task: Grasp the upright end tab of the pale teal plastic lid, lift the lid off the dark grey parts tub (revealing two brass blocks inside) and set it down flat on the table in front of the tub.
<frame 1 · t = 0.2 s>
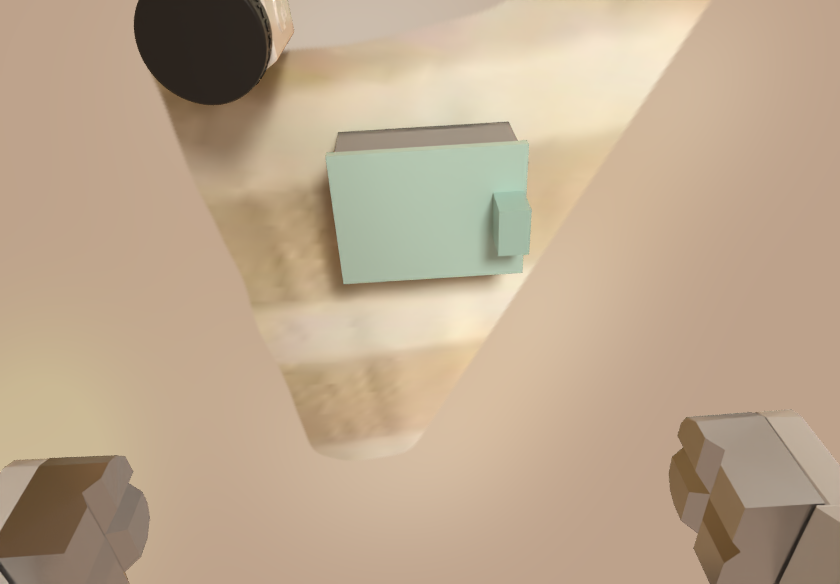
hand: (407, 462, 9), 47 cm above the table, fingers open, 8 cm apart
lid: (429, 214, 53), point 6 cm above the table, touching tub
tub: (426, 184, 58), on the table
jar: (239, 6, 49), on the table
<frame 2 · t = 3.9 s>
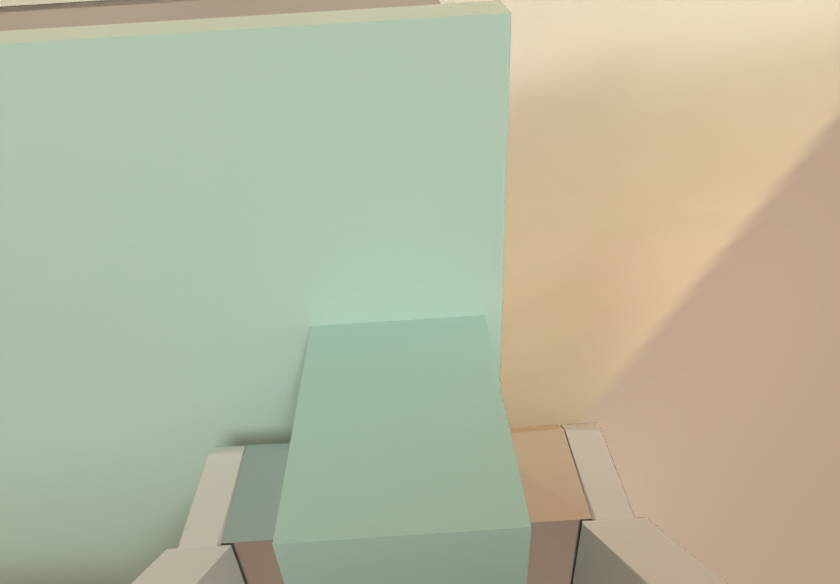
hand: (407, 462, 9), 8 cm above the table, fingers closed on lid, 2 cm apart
lid: (26, 411, 11), point 6 cm above the table, touching gripper, tub
tub: (142, 241, 16), on the table
when the fingers open (3 cm above the table, at t = 9.8 s): lid drops 2 cm, on the table.
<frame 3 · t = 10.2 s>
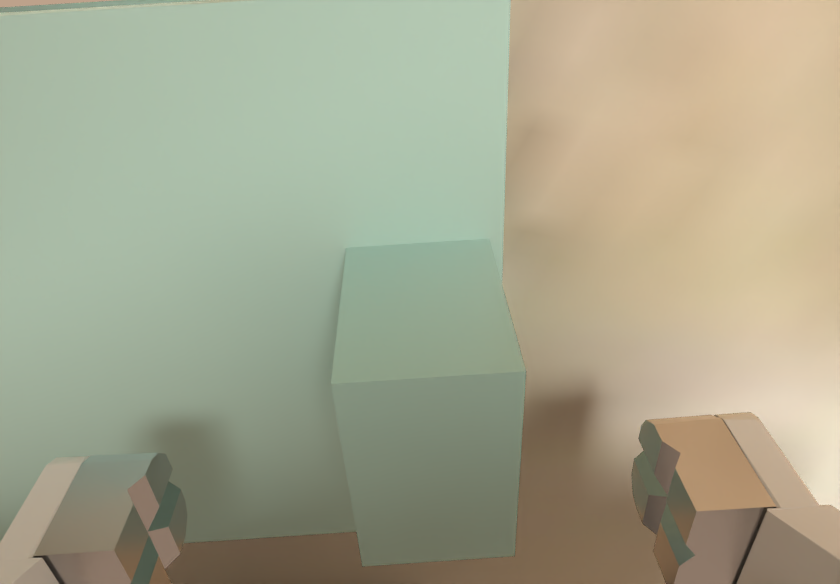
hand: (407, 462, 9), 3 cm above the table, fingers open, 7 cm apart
lid: (100, 330, 13), on the table
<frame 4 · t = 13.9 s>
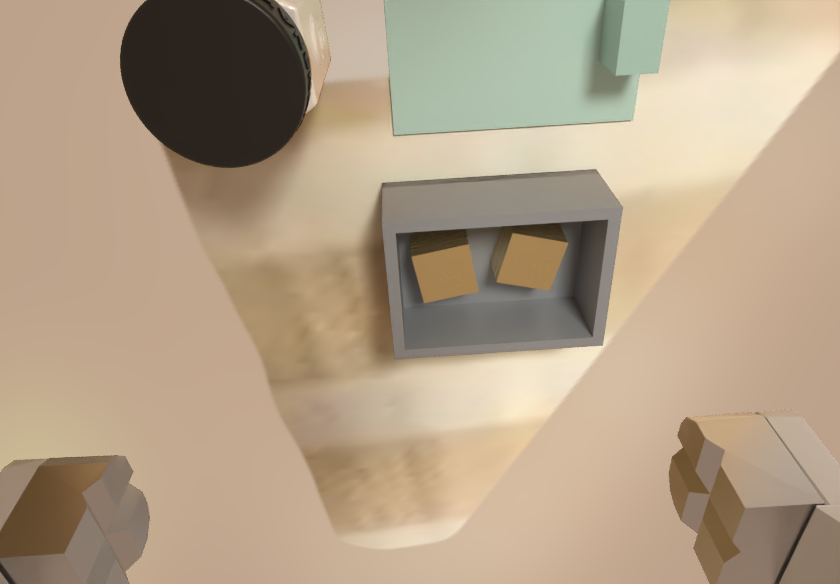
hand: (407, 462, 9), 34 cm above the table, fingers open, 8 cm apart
part b: (523, 241, 46), point 1 cm above the table, touching tub
part a: (442, 252, 46), point 1 cm above the table, touching tub
lid: (514, 29, 39), on the table
tub: (488, 244, 46), on the table
jar: (261, 28, 38), on the table
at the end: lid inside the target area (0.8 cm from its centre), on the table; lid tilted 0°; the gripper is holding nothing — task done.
